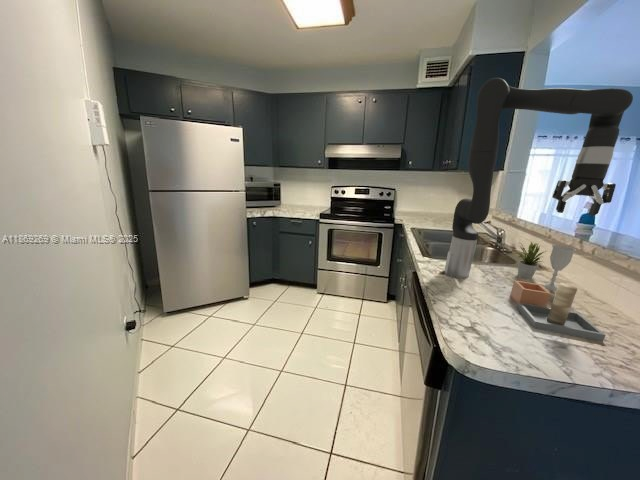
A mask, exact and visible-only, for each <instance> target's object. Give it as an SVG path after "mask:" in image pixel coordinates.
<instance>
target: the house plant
mask: <svg viewBox="0 0 640 480" xmlns="http://www.w3.org/2000/svg"><path fill="white" fill-rule="evenodd" d="M517 245H518V246H517V247H519V248H520V249H521V251H518V250H515V249H514V251H515V253H513V255H516V254H517V255H519V256H518V258H520V259H521V260H518V266H517V268H518V269H517V276H519V277H522V278H525V279H532V278H533V277H534V275H535V273H536V271H537V270H538V268H539V264H538V263H541V262H542V263H544V261H541V258H542V256H541V255H542V254H544V253H546V252H547V250H545V251H541V252H540V253H539V251H540V248H541V247H540V245H539V242H536V243H533V241H530V244H529V246H528V250H526V249H525V246H524V245H523V244H522V243H521V242H519V244H517ZM527 251H528V252H527Z"/></svg>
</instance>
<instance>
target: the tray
mask: <svg viewBox="0 0 640 480" xmlns="http://www.w3.org/2000/svg"><path fill="white" fill-rule="evenodd" d="M516 305H517V306H516V309H517V310H518V311H519V312H520V313H521V315H522V316H523V318H524V319H525V320H526V321H527V322H528V323H529V325H530V326H531V327H532V328H534V329H537V330H543V331H548V332H554V333H556V334H557V333H558V334H563V335H567V336H572V337H577V338H583V339H587V340H591V341H592V340H593V341H598V342H604V340H605V337H606V334H605V333H604V332H603V331H601V330H600V329H599V328H598V327H597V326H595V325H594V324H593V323H592V322H591V321H589V320H588V319H587V318H585V316H583V315H582V314H581V313H579V312H577V311H572V310H571V311H569V314H568V317H567V319H566V322H565V325H564V326H562V325H557V324H552V323H549V322H548V321H547V317H548V314H549V312H550V309H551V307H547V306H546V307H543V306H537V305H531V304H526V303H520V302H518V304H516Z"/></svg>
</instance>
